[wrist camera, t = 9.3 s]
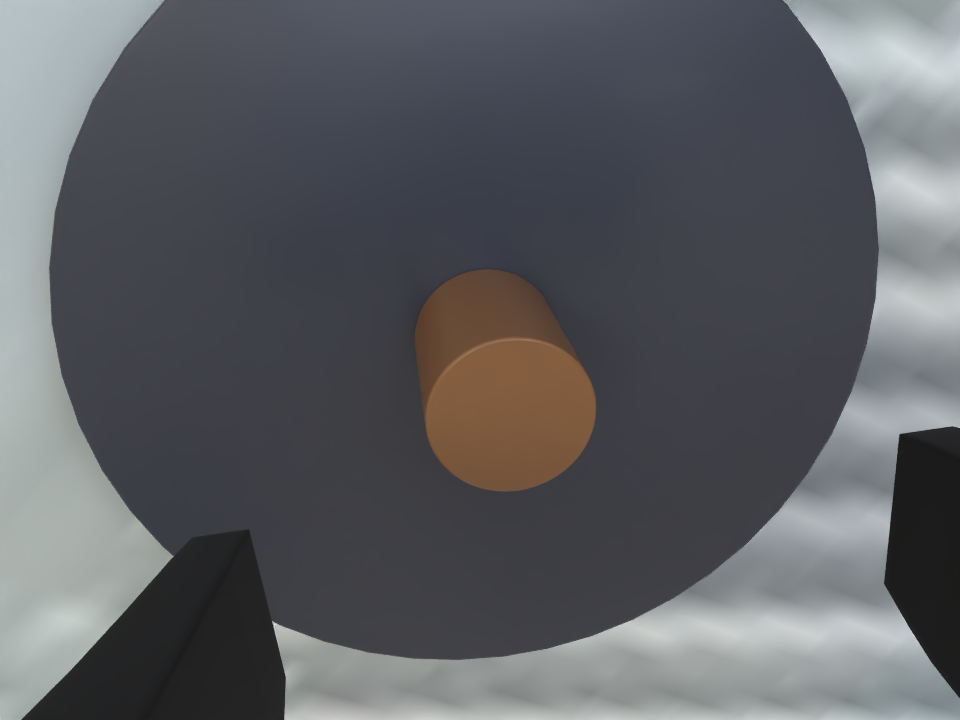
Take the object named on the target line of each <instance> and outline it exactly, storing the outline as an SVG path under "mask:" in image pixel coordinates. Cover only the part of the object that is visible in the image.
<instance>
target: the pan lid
mask: <svg viewBox="0 0 960 720" xmlns="http://www.w3.org/2000/svg"><path fill="white" fill-rule="evenodd" d="M878 250H879V248H878V234H877V219H876V205H875V196H874V191H873V186H872V182H871V177H870V172H869V167H868V163H867V158H866V153H865V148H864V145H863V143H862V140H861V137H860V134H859V132H858V129H857V126H856V123H855V121H854V118H853V115H852V112H851V110H850V107H849V104H848V101H847V99H846V96H845V94H844V93H843V91H842V89H841V87H840V85H839V83H838V81H837V80H836V78H835V76H834V74H833V72H832V70H831V68H830V66H829V65H828V63H827V61H826V59H825V57H824V55H823V53H822V52H821V50H820V48H819V47H818V46H817V44H816V43H815V42H814V40H813V39H812V38H811V36H810V35H809V34H808V32H807V31H806V30H805V28H804V27H803V25H802V24H801V23H800V21H799V20H798V19H797V17H796V16H795V15H794V13H793V12H792V11H791V9H790V8H789V7H788V5H787V4H786V3H785V2H784V1H783V0H164V2H163V3H162V4H161V5H160V6H159V8H158V9H157V10H156V11H155V12H154V14H153V15H152V16H151V17H150V18H149V20H148V21H147V22H146V23H145V24H144V25H143V27H142V28H141V29H140V30H139V31H138V33H137V34H136V35H135V36H134V37H133V39H132V40H131V41H130V42H129V43H128V45H127V46H126V47H125V48H124V50H123V51H122V53H121V55H120V56H119V58H118V60H117V61H116V63H115V65H114V66H113V68H112V69H111V71H110V73H109V74H108V76H107V78H106V79H105V81H104V82H103V84H102V86H101V87H100V89H99V91H98V92H97V94H96V96H95V97H94V99H93V101H92V103H91V105H90V108H89V110H88V112H87V115H86V117H85V120H84V122H83V124H82V127H81V129H80V131H79V134H78V136H77V138H76V141H75V143H74V146H73V148H72V150H71V153H70V155H69V159H68V163H67V167H66V170H65V174H64V178H63V182H62V186H61V190H60V194H59V198H58V202H57V206H56V210H55V216H54V226H53V236H52V246H51V256H50V266H49V273H50V295H51V317H52V326H53V332H54V337H55V342H56V347H57V352H58V357H59V363H60V368H61V373H62V377H63V380H64V383H65V386H66V388H67V391H68V394H69V397H70V400H71V403H72V406H73V409H74V412H75V415H76V417H77V420H78V423H79V426H80V428H81V430H82V432H83V434H84V435H85V437H86V439H87V441H88V443H89V445H90V447H91V449H92V451H93V453H94V455H95V457H96V459H97V461H98V463H99V465H100V467H101V469H102V471H103V472H104V473H105V475H106V476H107V478H108V479H109V481H110V482H111V484H112V485H113V486H114V488H115V489H116V491H117V492H118V494H119V495H120V497H121V498H122V500H123V501H124V502H125V504H126V505H127V507H128V508H129V510H130V511H131V512H132V513H133V514H134V515H135V516H136V518H137V519H138V520H139V521H140V522H141V523H142V524H143V525H144V526H145V528H146V529H147V530H148V531H149V532H150V533H151V534H152V535H153V536H154V537H155V539H156V540H157V541H158V542H159V543H160V544H161V545H162V546H163V547H164V548H165V549H166V550H167V551H168V552H170V553H171V554H172V555H173V556H175V555H176V553H177V552H178V551H179V550H180V549H181V548H182V547H183V546H184V545H185V544H186V543H187V542H188V541H189V540H190V539H191V538H192V537H198V536H205V535H212V534H219V533H226V532H232V531H239V530H246V529H249V530H250V534H251V538H252V542H253V546H254V550H255V555H256V559H257V563H258V567H259V571H260V575H261V579H262V583H263V587H264V591H265V595H266V599H267V603H268V607H269V611H270V616H271V620H272V621H273V622H275V623H277V624H279V625H281V626H284V627H286V628H289V629H292V630H295V631H297V632H300V633H303V634H305V635H308V636H311V637H313V638H316V639H319V640H322V641H325V642H329V643H333V644H337V645H341V646H345V647H349V648H353V649H357V650H361V651H365V652H369V653H377V654H384V655H391V656H399V657H406V658H415V659H448V660H463V659H476V658H489V657H503V656H509V655H514V654H520V653H526V652H531V651H537V650H542V649H548V648H551V647H555V646H558V645H562V644H565V643H569V642H572V641H576V640H579V639H583V638H586V637H590V636H593V635H595V634H598V633H600V632H603V631H605V630H608V629H610V628H613V627H615V626H618V625H620V624H623V623H625V622H628V621H630V620H633V619H635V618H637V617H638V616H640V615H642V614H644V613H646V612H648V611H650V610H652V609H654V608H656V607H657V606H659V605H661V604H663V603H665V602H667V601H669V600H671V599H673V598H674V597H676V596H677V595H679V594H680V593H682V592H683V591H685V590H686V589H688V588H689V587H691V586H692V585H694V584H695V583H697V582H698V581H700V580H701V579H703V578H704V577H706V576H707V575H709V574H710V573H712V572H713V571H714V570H715V569H717V568H718V567H719V566H720V565H721V564H723V563H724V562H725V561H726V560H727V559H729V558H730V557H731V556H732V555H733V554H735V553H736V552H737V551H738V550H740V549H741V548H742V547H743V546H744V545H746V544H747V543H748V542H749V541H750V540H751V539H752V537H753V536H754V535H755V534H756V533H757V532H758V531H759V530H760V529H761V528H762V527H763V526H764V525H765V524H766V523H767V522H768V521H769V520H770V519H771V518H772V517H773V516H774V515H775V514H776V513H777V512H778V511H779V509H780V508H781V507H782V506H783V504H784V503H785V502H786V501H787V499H788V498H789V497H790V495H791V494H792V493H793V492H794V490H795V489H796V488H797V486H798V485H799V484H800V483H801V481H802V480H803V479H804V478H805V476H806V475H807V473H808V472H809V470H810V469H811V467H812V465H813V464H814V462H815V460H816V459H817V457H818V456H819V454H820V452H821V451H822V449H823V447H824V446H825V444H826V443H827V441H828V439H829V438H830V436H831V434H832V432H833V430H834V428H835V426H836V424H837V421H838V419H839V417H840V415H841V413H842V411H843V408H844V406H845V404H846V402H847V400H848V398H849V396H850V393H851V391H852V388H853V385H854V382H855V379H856V376H857V373H858V370H859V367H860V363H861V360H862V357H863V354H864V351H865V348H866V344H867V339H868V334H869V329H870V324H871V319H872V313H873V308H874V303H875V297H876V282H877V266H878Z"/></svg>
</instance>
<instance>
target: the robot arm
mask: <svg viewBox="0 0 960 720" xmlns="http://www.w3.org/2000/svg"><path fill="white" fill-rule="evenodd" d="M884 584H885V586H886V588H887V590H888V591H889V593H890V595H891V597H892V598H893V600H894V602H895V603H896V605H897V607H898V609H899V610H900V612H901V614H902V615H903V617H904V619H905V621H906V622H907V624H908V626H909V627H910V629H911V631H912V632H913V634H914V635H915V637H916V639H917V640H918V642H919V643H920V645H921V646H922V648H923V650H924V651H925V653H926V654H927V656H928V658H929V659H930V661H931V662H932V664H933V665H934V666H935V667H936V669H937V670H938V671H939V673H940V674H941V675H942V676H943V678H944V679H945V680H946V682H947V683H948V684H949V685H950V687H951V688H952V689H953V690H954V692H955V693H956V694H957V696H958V697H959V698H960V428H957V427H953V426H952V427H945V428H938V429H931V430H924V431H917V432H910V433H904V434H900V435H899V444H898V454H897V464H896V474H895V483H894V493H893V503H892V512H891V522H890V532H889V542H888V551H887V561H886V571H885V580H884ZM285 684H286V677H285V673H284V668H283V664H282V660H281V656H280V652H279V648H278V644H277V640H276V636H275V632H274V628H273V624H272V620H271V616H270V611H269V607H268V603H267V599H266V595H265V591H264V587H263V583H262V579H261V575H260V571H259V567H258V563H257V559H256V555H255V550H254V546H253V542H252V538H251V534H250V530H249V529H246V530H239V531H232V532H226V533H219V534H212V535H205V536H198V537H192V538H191V539H190V540H189V541H188V542H187V543H186V544H185V545H184V546H183V547H182V548H181V549H180V550H179V551H178V552H177V553H176V555H175V556H174V557H173V558H172V559H171V560H170V561H169V562H168V563H167V565H166V566H165V567H164V568H163V569H162V570H161V571H160V572H159V574H158V575H157V576H156V577H155V578H154V579H153V580H152V581H151V583H150V584H149V585H148V586H147V587H146V588H145V589H144V591H143V592H142V593H141V594H140V595H139V596H138V597H137V598H136V600H135V601H134V602H133V603H132V604H131V605H130V606H129V607H128V609H127V610H126V611H125V612H124V613H123V614H122V615H121V616H120V617H119V618H118V620H117V621H116V622H115V623H114V624H113V625H112V626H111V627H110V628H109V629H108V630H107V632H106V633H105V634H104V635H103V636H102V637H101V638H100V639H99V640H98V641H97V642H96V644H95V645H94V646H93V647H92V648H91V649H90V650H89V651H88V652H87V653H86V654H85V656H84V657H83V658H82V659H81V660H80V661H79V662H78V663H77V664H76V665H75V666H74V667H73V668H72V670H71V671H70V672H69V673H68V674H67V675H66V676H65V677H64V678H63V679H62V680H61V681H60V682H59V683H58V684H57V685H56V686H55V687H54V688H53V689H52V690H51V691H50V692H49V693H48V694H47V695H46V696H45V697H44V698H43V699H42V700H41V701H40V702H39V703H38V704H37V705H36V706H35V707H34V708H33V709H32V710H31V711H30V712H29V713H28V714H27V715H26V716H25V717H24V718H23V719H22V720H284V710H285Z"/></svg>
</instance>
